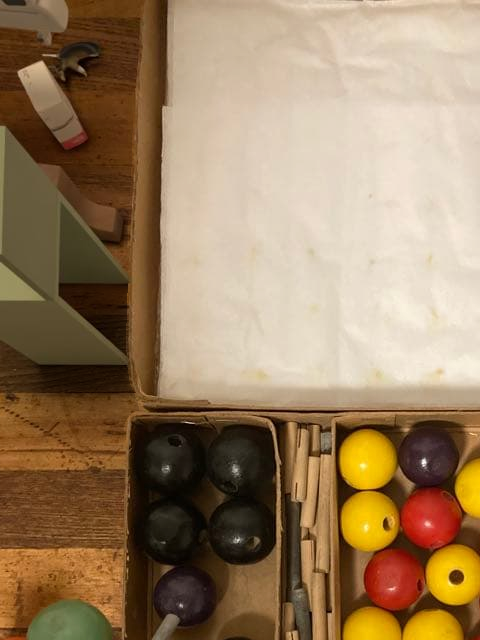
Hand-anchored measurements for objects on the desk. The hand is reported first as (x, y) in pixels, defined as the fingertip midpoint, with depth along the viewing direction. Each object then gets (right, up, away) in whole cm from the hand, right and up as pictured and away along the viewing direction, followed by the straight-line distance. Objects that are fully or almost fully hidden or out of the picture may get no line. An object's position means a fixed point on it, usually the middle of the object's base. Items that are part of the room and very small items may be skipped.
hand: (16, 37), depth 130 cm
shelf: (+3, -38, +21) cm, 44 cm away
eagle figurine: (+1, +9, +24) cm, 25 cm away
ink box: (-1, -2, +23) cm, 23 cm away
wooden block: (+5, -21, +22) cm, 31 cm away
